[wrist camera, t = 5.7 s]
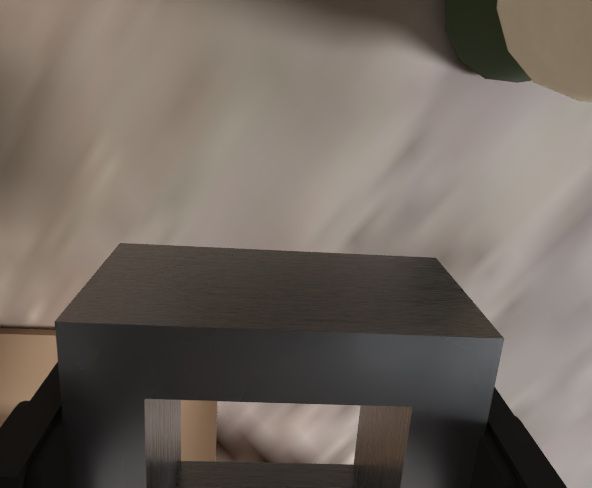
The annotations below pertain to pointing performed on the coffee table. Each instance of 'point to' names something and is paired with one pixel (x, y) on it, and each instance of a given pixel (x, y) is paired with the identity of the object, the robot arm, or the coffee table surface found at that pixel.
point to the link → (274, 364)
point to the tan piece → (43, 357)
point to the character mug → (526, 41)
